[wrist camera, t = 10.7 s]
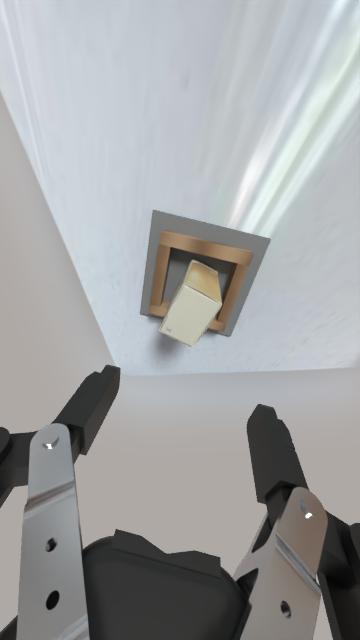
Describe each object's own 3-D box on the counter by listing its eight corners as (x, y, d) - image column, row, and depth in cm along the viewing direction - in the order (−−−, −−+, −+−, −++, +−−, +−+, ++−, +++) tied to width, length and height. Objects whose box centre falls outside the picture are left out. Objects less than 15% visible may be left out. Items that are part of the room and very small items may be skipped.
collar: (250, 250, 28) (253, 254, 25) (222, 323, 34) (223, 331, 32) (165, 229, 28) (161, 231, 26) (152, 306, 34) (148, 313, 32)
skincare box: (198, 304, 33) (192, 351, 22) (174, 291, 32) (156, 334, 21) (219, 269, 29) (224, 304, 19) (193, 254, 29) (183, 283, 18)
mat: (270, 238, 27) (271, 239, 27) (230, 335, 35) (230, 336, 35) (153, 209, 27) (152, 210, 27) (140, 312, 35) (140, 313, 35)
